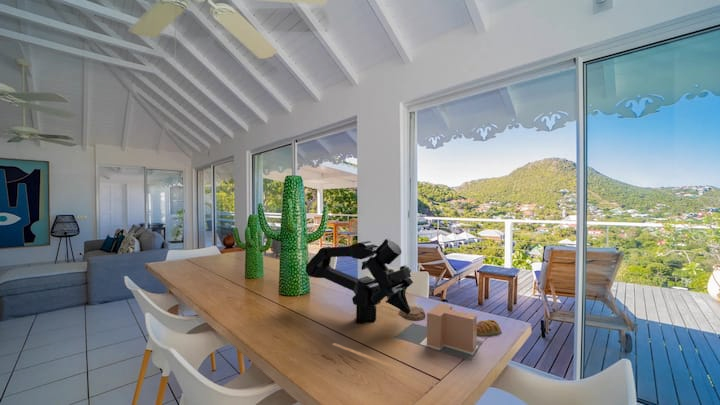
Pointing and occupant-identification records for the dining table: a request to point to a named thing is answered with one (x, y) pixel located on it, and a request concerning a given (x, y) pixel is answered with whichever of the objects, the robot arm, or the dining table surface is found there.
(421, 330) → the board
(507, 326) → the dining table surface
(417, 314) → the cookie
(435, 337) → the tee
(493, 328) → the pastry
